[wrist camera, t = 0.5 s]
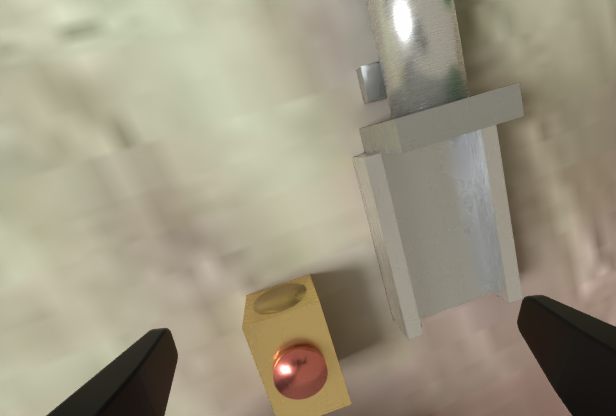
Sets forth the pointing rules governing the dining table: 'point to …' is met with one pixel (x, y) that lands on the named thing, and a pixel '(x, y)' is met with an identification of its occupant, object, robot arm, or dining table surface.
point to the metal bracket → (434, 167)
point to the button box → (294, 350)
